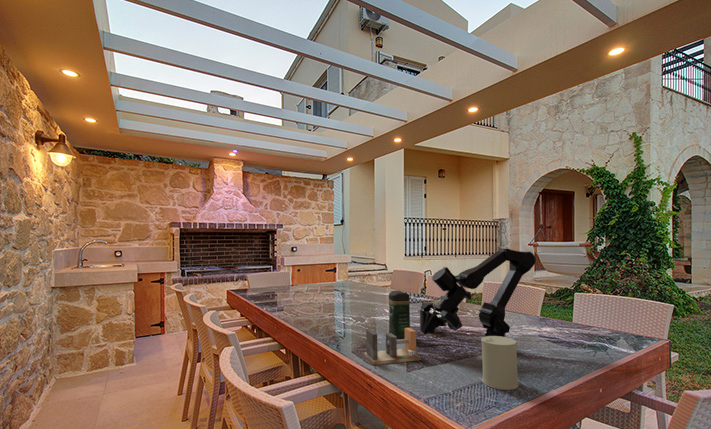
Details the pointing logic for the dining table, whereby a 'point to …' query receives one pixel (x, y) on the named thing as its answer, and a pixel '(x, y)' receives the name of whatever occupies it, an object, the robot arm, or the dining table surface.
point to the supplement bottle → (424, 317)
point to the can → (499, 362)
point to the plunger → (409, 340)
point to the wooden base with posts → (391, 350)
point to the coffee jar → (399, 313)
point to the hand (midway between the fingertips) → (423, 333)
